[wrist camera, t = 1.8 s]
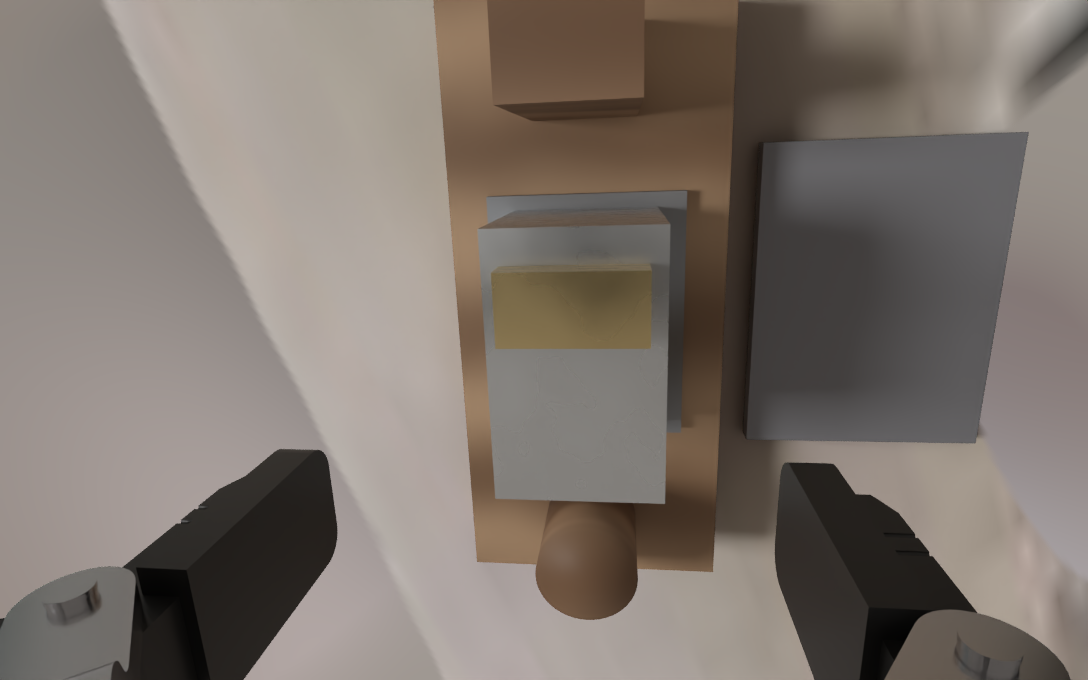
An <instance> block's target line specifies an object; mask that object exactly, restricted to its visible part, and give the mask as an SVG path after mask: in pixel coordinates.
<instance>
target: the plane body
mask: <svg viewBox="0 0 1088 680" xmlns="http://www.w3.org/2000/svg"><path fill="white" fill-rule="evenodd" d="M434 13H435V25H436V38H437V51H438V64H439V77H440V90H441V103H442V115H443V128H444V141H445V154H446V167H447V180H448V192H449V205H450V218H451V231H452V244H453V257H454V269H455V282H456V295H457V308H458V321H459V334H460V346H461V359H462V372H463V385H464V398H465V411H466V423H467V436H468V449H469V462H470V475H471V488H472V500H473V513H474V526H475V539H476V552H477V562H494V563H517V564H537V565H536V581H537V585H538V588H539V590H540V592H541V594H542V595H543V597H544V598H545V599H546V601H547V602H548V603H549V604H550V605H551V606H553V607H554V608H555V609H557V610H558V611H560V612H562V613H564V614H566V615H568V616H571V617H574V618H578V619H585V620H595V619H602V618H606V617H609V616H612V615H614V614H616V613H618V612H619V611H621V610H622V609H623V608H624V607H626V606H627V605H628V603H629V602H630V601H631V599H632V598H633V596H634V594H635V592H636V588H637V582H638V574H637V569H657V570H680V571H704V572H713V558H714V535H715V513H716V491H717V468H718V446H719V424H720V402H721V379H722V357H723V335H724V312H725V290H726V268H727V245H728V223H729V201H730V178H731V156H732V134H733V112H734V89H735V67H736V45H737V22H738V0H434ZM654 206H657V207H658V208H659V209H660V211H661V212H662V213H663V215H664V216H665V217H666V219H667V220H668V222H669V223H670V272H669V324H668V376H667V428H666V481H665V504H653V503H619V502H586V501H553V500H519V499H495V487H494V472H493V457H492V441H491V426H490V411H489V396H488V381H487V366H486V351H485V336H484V321H483V306H482V291H481V276H480V261H479V246H478V230H477V229H478V228H480V227H482V226H484V225H487V224H489V223H491V222H493V221H495V220H497V219H499V218H501V217H503V216H505V215H507V214H509V213H511V212H513V211H515V210H550V209H585V208H619V207H654Z"/></svg>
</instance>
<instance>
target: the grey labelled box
mask: <svg viewBox="0 0 1088 680" xmlns="http://www.w3.org/2000/svg"><path fill="white" fill-rule="evenodd" d="M477 230H478V246H479V261H480V276H481V291H482V306H483V321H484V336H485V351H486V366H487V381H488V396H489V411H490V426H491V441H492V457H493V472H494V487H495V499H519V500H553V501H586V502H619V503H653V504H665V481H666V428H667V376H668V324H669V272H670V223H669V222H668V220H667V219H666V217H665V216H664V215H663V213H662V212H661V211H660V209H659V208H658V207H657V206H654V207H619V208H585V209H550V210H515V211H513V212H511V213H509V214H507V215H505V216H503V217H501V218H499V219H497V220H495V221H493V222H491V223H489V224H487V225H484V226H482V227H480V228H478V229H477Z"/></svg>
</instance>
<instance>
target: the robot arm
mask: <svg viewBox="0 0 1088 680" xmlns="http://www.w3.org/2000/svg"><path fill="white" fill-rule="evenodd" d="M336 541H337V522H336V514H335V507H334V500H333V493H332V486H331V479H330V471H329V464H328V460H327V457H326V455H325V454H324V453H323V452H322V451H320V450H295V449H279V450H277V451H276V452H274V453H273V454H272V455H270V456H269V457H268V458H267V459H266V460H265V461H263V462H262V463H261V464H260V465H259V466H257V467H256V468H255V469H254V470H252V471H251V472H250V473H249V474H248V475H246V476H245V477H243V478H241V479H239V480H237V481H235V482H233V483H231V484H229V485H227V486H225V487H223V488H221V489H219V490H218V491H216V492H215V493H214V494H213V495H211V496H210V497H209V498H208V499H206V500H205V501H204V502H203V503H202V504H200V505H199V508H198V509H194V510H193V511H192V512H190V513H189V514H188V515H187V516H185V517H184V518H183V519H182V520H181V524H176V525H175V526H173V527H172V528H171V529H169V530H168V531H167V532H166V533H164V534H163V535H162V536H161V537H160V538H158V539H157V540H156V541H155V542H153V543H152V544H151V545H150V546H148V547H147V548H146V549H145V550H143V551H142V552H141V553H140V554H138V555H137V556H136V557H135V558H134V559H132V560H131V561H130V562H128V563H127V564H126V565H125V566H124V567H122V568H121V567H98V568H92V569H87V570H83V571H79V572H76V573H73V574H70V575H67V576H64V577H61V578H59V579H56V580H54V581H52V582H50V583H48V584H46V585H44V586H42V587H40V588H38V589H36V590H35V591H33V592H32V593H30V594H28V595H27V596H26V597H24V598H23V599H22V600H20V601H19V602H18V603H17V604H16V605H15V606H14V607H13V608H12V609H11V610H10V611H9V612H8V614H7V615H6V617H5V618H3V619H0V680H243V679H244V678H245V677H246V675H247V674H248V673H249V671H250V670H251V668H252V667H253V666H254V665H255V663H256V662H257V660H258V659H259V658H260V656H261V655H262V653H263V652H264V651H265V649H266V648H267V647H268V645H269V644H270V643H271V641H272V640H273V639H274V637H275V636H276V635H277V633H278V632H279V630H280V629H281V628H282V626H283V625H284V623H285V622H286V621H287V620H288V618H289V617H290V616H291V614H292V613H293V611H294V610H295V609H296V607H297V606H298V604H299V603H300V602H301V601H302V599H303V598H304V596H305V595H306V594H307V592H308V591H309V590H310V588H311V587H312V586H313V584H314V583H315V581H316V580H317V579H318V577H319V576H320V575H321V573H322V572H323V571H324V569H325V568H326V566H327V565H328V564H329V562H330V560H331V558H332V556H333V554H334V550H335V547H336ZM775 563H776V571H777V577H778V582H779V585H780V588H781V591H782V593H783V596H784V599H785V601H786V604H787V607H788V609H789V612H790V615H791V617H792V620H793V623H794V626H795V628H796V631H797V634H798V636H799V639H800V642H801V644H802V647H803V650H804V652H805V655H806V658H807V660H808V663H809V666H810V668H811V671H812V674H813V676H814V679H815V680H1071V679H1070V677H1069V674H1068V672H1067V670H1066V668H1065V667H1064V665H1063V664H1062V662H1061V661H1060V660H1059V659H1058V658H1057V656H1056V655H1055V654H1054V653H1052V652H1051V651H1050V650H1049V649H1048V648H1047V647H1046V646H1045V645H1043V644H1042V643H1041V642H1039V641H1038V640H1037V639H1035V638H1034V637H1032V636H1030V635H1029V634H1027V633H1026V632H1024V631H1022V630H1020V629H1018V628H1016V627H1014V626H1012V625H1010V624H1008V623H1005V622H1003V621H1001V620H998V619H995V618H992V617H989V616H986V615H982V614H979V613H977V612H976V610H975V609H974V608H973V607H972V605H971V604H970V603H969V602H968V600H967V599H966V598H965V597H964V595H963V594H962V593H961V591H960V590H959V589H958V588H957V586H956V585H955V584H954V583H953V581H952V580H951V579H950V578H949V576H948V575H947V574H946V573H945V571H944V570H943V569H942V567H941V566H940V565H939V564H938V562H937V561H936V560H935V559H934V557H933V556H929V551H928V550H927V549H926V547H925V546H924V545H923V543H922V542H921V541H920V540H919V538H915V533H914V532H913V531H912V530H911V528H910V527H909V526H908V525H907V523H906V522H905V521H904V519H903V518H902V517H901V516H900V514H899V513H898V512H896V511H895V510H893V509H891V508H890V507H888V506H887V505H885V504H884V503H882V502H881V501H879V500H878V499H876V498H875V497H873V496H871V495H858V494H855V493H854V491H853V490H852V489H851V487H850V486H849V484H848V483H847V481H846V480H845V479H844V477H843V476H842V474H841V473H840V472H839V470H838V469H837V467H836V466H835V465H834V464H825V463H784V465H783V467H782V470H781V476H780V487H779V500H778V513H777V526H776V539H775Z"/></svg>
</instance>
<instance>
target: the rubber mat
mask: <svg viewBox="0 0 1088 680" xmlns="http://www.w3.org/2000/svg"><path fill="white" fill-rule="evenodd" d="M1027 137H1028V132H1015V133H990V134H965V135H941V136H916V137H891V138H867V139H842V140H818V141H793V142H768V143H759V155H758V172H757V190H756V208H755V226H754V243H753V261H752V279H751V297H750V314H749V332H748V350H747V367H746V385H745V403H744V421H743V433H744V435H745V437H746V439H750V440H809V441H868V442H927V443H976V437H977V431H978V425H979V420H980V414H981V408H982V402H983V396H984V390H985V384H986V378H987V373H988V367H989V360H990V355H991V349H992V343H993V337H994V332H995V326H996V319H997V314H998V308H999V302H1000V297H1001V291H1002V285H1003V279H1004V272H1005V267H1006V261H1007V255H1008V250H1009V244H1010V238H1011V232H1012V226H1013V220H1014V214H1015V209H1016V202H1017V197H1018V191H1019V185H1020V179H1021V173H1022V167H1023V161H1024V155H1025V150H1026V144H1027Z"/></svg>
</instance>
